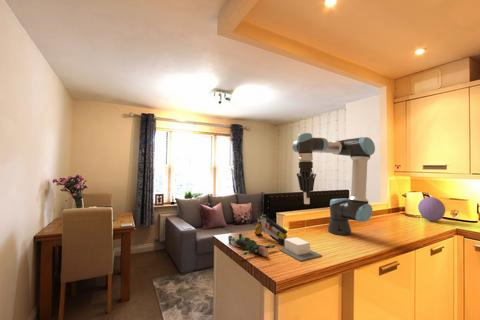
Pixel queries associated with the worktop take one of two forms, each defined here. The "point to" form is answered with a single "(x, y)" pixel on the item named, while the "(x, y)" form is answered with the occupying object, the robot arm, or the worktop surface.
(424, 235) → the worktop surface
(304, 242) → the cream rectangular block
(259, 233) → the toy gun
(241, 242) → the figurine
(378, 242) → the worktop surface
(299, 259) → the mat
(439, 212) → the ball
